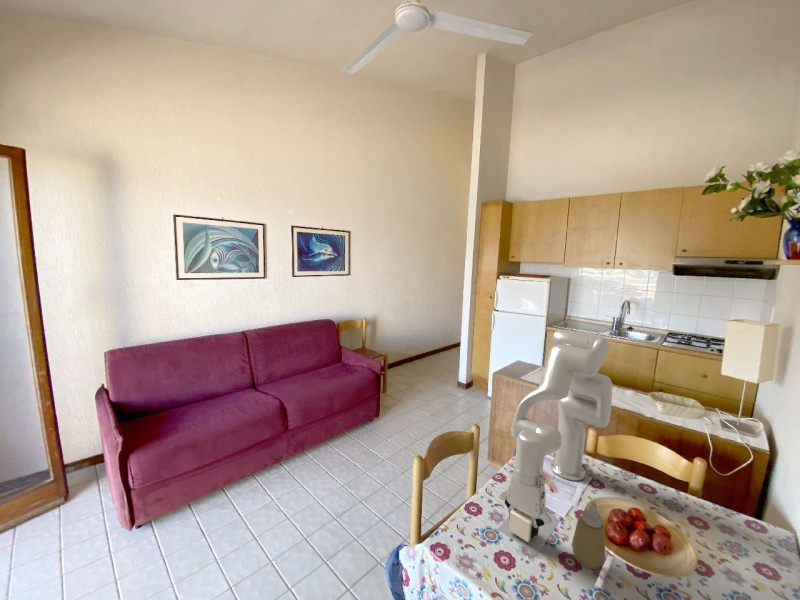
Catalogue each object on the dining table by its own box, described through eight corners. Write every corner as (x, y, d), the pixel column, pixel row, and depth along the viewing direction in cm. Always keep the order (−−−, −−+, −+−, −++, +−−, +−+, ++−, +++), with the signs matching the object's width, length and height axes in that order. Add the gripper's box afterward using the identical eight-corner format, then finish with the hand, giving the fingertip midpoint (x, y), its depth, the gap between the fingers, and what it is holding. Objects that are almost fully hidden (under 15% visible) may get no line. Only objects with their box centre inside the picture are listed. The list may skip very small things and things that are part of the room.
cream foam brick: (517, 519, 106) (519, 501, 105) (536, 530, 102) (538, 512, 101) (508, 530, 102) (510, 511, 101) (528, 542, 98) (529, 523, 97)
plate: (523, 503, 116) (523, 499, 116) (560, 523, 108) (560, 520, 108) (497, 532, 103) (497, 529, 103) (536, 558, 95) (536, 554, 95)
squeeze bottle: (586, 579, 90) (594, 517, 87) (563, 553, 97) (570, 495, 95) (610, 572, 92) (618, 511, 89) (586, 546, 99) (593, 490, 97)
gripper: (563, 482, 96) (557, 539, 99) (506, 456, 108) (502, 507, 110) (553, 495, 91) (546, 555, 93) (494, 466, 103) (490, 520, 105)
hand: (522, 529), depth 102 cm, fingers closed on cream foam brick, 5 cm apart
